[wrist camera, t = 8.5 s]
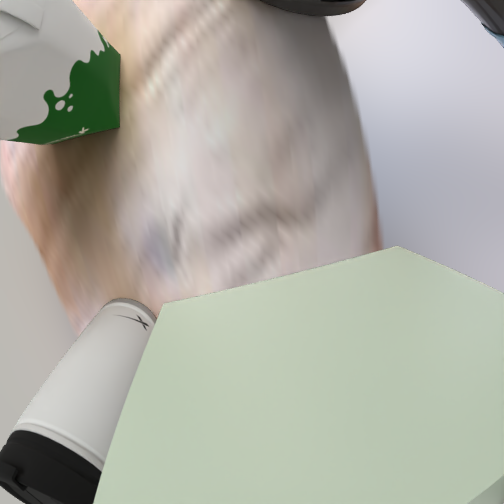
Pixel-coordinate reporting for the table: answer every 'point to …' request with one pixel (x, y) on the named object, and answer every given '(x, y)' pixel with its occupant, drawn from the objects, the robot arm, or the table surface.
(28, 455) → the travel mug
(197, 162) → the table surface
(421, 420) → the mint green block
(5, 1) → the milk carton
